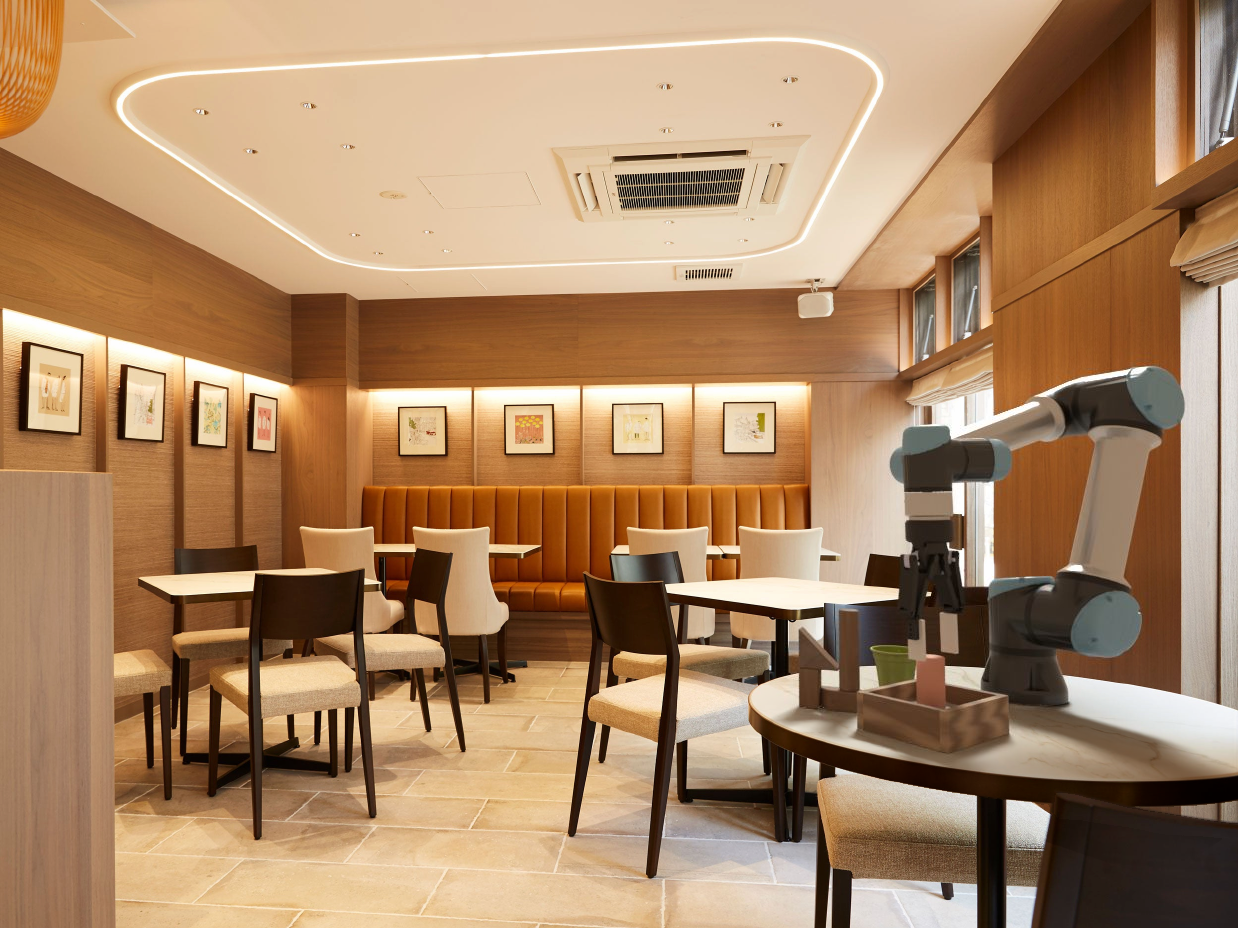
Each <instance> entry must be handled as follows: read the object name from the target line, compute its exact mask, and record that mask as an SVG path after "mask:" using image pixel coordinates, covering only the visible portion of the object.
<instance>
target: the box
mask: <svg viewBox="0 0 1238 928" xmlns="http://www.w3.org/2000/svg"><path fill="white" fill-rule="evenodd" d="M861 690H862V691H858V692H857V713H856V728H857V730H860V731H864V732H867V733H871V734H876V735H879V736H883V737H886V738H890V739H893V740H896V741H897V740H898V741H901V742H905V743H908V744H911V745H916V746H920V747H923V748H926V749H930V750H933V751H938V752H942V753H946V754H950V753H952V752H956V751H959V750H962V749H965V748H966V749H967V748H968V747H972V746H975V745H977V744H981V743H984V742H986V741H990V740H992V739H996V738H999V737H1001V736H1005V735H1007V734H1010V710H1009V709H1010V707H1009V705H1010V704H1009V703H1010V702H1009V697H1008V695H1003V694H998V693H993V692H988V691H982V690H981V689H977V688H971V687H966V686H962V685H956V684H951V683H946V682H945V694H946V709H940V708H936V707H931V706H927V705H922V704H918V703H917V686H916V678H915V679H913V680H909V681H904V682H899V683H895V684H890V685H885V686H881V687H879V686H877V687H873V688H867V689H861Z"/></svg>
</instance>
